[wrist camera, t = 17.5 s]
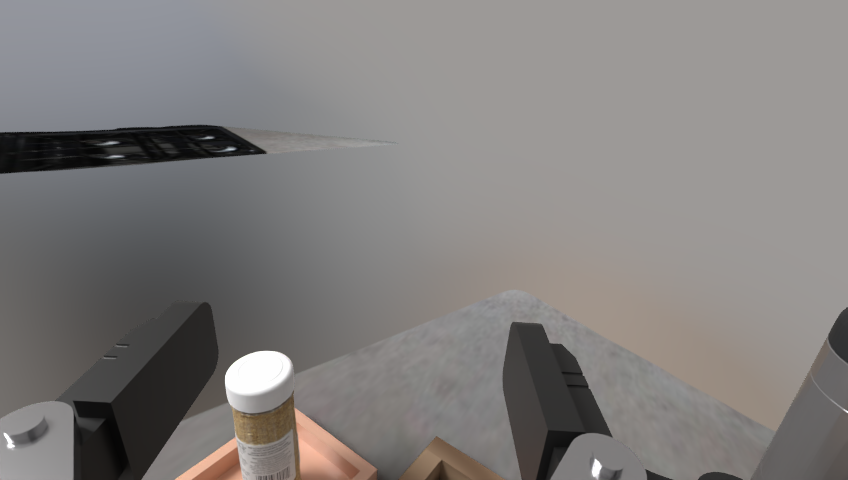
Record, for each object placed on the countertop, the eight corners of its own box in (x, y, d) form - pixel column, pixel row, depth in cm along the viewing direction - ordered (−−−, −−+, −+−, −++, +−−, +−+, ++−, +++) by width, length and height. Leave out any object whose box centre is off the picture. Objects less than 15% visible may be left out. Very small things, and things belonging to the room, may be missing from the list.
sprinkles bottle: (306, 470, 38) (297, 347, 32) (299, 522, 34) (287, 391, 28) (252, 473, 37) (234, 348, 32) (238, 526, 33) (214, 393, 28)
